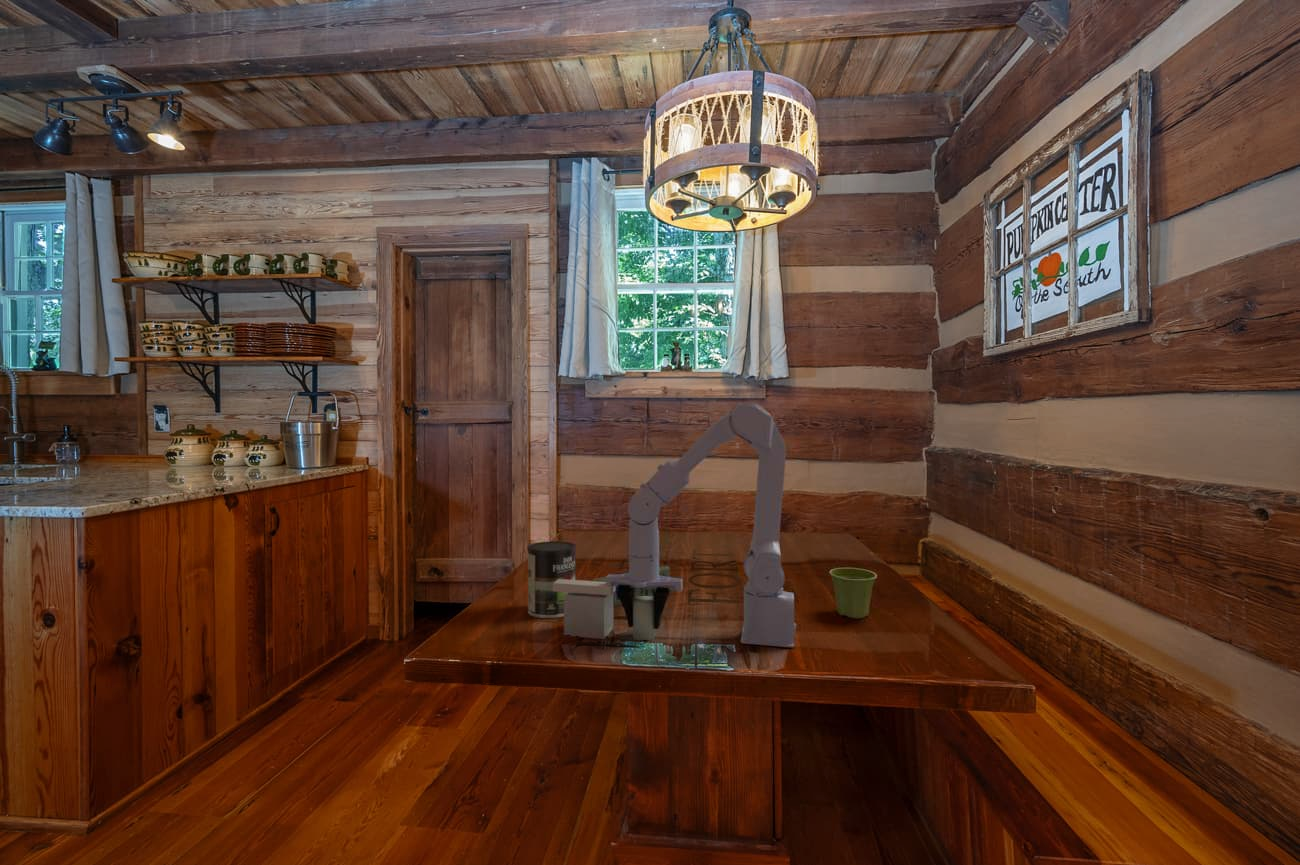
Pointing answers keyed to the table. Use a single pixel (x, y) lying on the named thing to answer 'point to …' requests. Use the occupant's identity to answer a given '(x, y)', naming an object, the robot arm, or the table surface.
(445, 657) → the table surface
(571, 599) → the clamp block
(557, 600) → the coffee can
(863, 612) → the plant pot
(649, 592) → the handheld radio
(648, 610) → the plug
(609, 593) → the pale grey rectangular box
